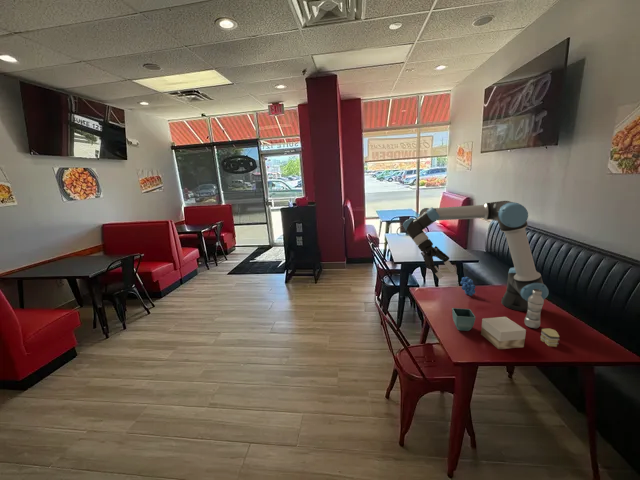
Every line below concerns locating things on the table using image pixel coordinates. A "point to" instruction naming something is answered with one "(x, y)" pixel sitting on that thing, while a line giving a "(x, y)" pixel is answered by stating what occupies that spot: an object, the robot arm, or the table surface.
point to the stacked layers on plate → (550, 337)
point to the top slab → (503, 328)
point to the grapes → (468, 286)
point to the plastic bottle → (534, 309)
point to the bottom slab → (502, 344)
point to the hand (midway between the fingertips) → (447, 274)
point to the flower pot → (463, 318)
